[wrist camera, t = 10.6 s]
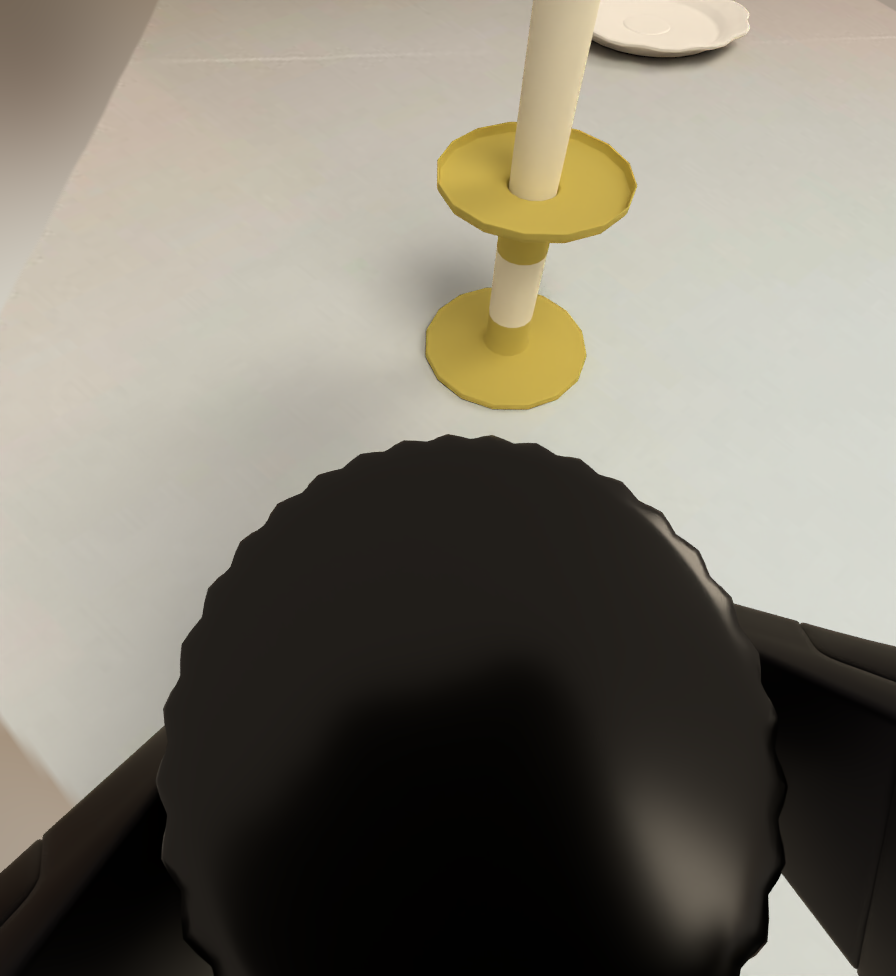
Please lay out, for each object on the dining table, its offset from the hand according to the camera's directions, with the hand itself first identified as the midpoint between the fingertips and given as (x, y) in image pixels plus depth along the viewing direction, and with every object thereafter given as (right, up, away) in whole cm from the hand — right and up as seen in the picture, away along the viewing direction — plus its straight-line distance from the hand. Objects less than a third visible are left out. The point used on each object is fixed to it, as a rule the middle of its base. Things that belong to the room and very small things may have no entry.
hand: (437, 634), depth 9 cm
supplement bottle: (0, -4, +5) cm, 7 cm away
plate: (+23, +55, +42) cm, 73 cm away
